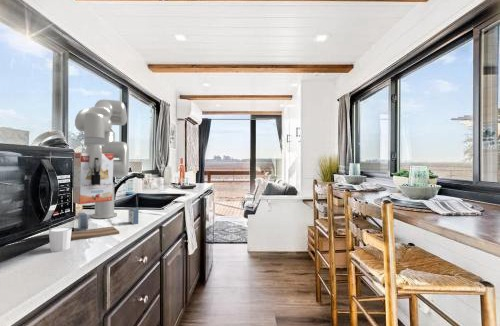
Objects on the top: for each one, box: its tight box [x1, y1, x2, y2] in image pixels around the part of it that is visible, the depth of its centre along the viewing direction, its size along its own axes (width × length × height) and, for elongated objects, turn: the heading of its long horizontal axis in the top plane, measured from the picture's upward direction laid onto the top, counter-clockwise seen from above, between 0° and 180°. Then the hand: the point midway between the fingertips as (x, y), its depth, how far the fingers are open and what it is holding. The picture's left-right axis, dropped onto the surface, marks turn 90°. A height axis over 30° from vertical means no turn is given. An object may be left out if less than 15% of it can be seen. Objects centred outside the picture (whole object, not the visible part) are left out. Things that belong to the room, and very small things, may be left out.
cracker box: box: [72, 152, 114, 205], centre depth 118 cm, size 14×6×21 cm, turn 148°
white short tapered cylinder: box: [48, 227, 73, 253], centre depth 99 cm, size 7×7×7 cm
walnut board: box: [70, 226, 120, 242], centre depth 119 cm, size 11×18×1 cm, turn 129°
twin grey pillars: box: [77, 207, 139, 231], centre depth 134 cm, size 6×25×7 cm, turn 129°
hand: (93, 183), depth 118 cm, fingers closed on cracker box, 7 cm apart
